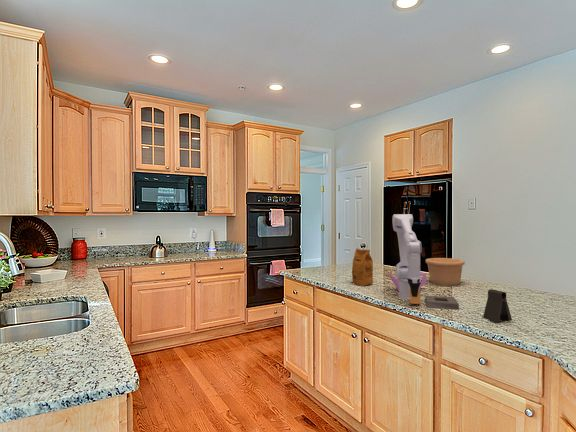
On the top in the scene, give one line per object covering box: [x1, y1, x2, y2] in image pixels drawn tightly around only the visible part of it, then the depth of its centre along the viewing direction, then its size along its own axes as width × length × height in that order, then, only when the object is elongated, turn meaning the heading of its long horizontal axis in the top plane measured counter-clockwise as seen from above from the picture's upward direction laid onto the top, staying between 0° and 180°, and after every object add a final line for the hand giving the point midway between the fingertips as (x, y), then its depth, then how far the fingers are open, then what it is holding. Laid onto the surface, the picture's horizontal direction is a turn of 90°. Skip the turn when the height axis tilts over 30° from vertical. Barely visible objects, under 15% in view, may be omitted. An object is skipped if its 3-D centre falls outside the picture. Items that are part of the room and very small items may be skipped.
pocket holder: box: [424, 295, 460, 311], centre depth 162 cm, size 13×13×3 cm
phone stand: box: [482, 288, 513, 324], centre depth 141 cm, size 9×6×12 cm, turn 110°
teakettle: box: [387, 272, 428, 292], centre depth 197 cm, size 17×17×12 cm
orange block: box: [409, 289, 421, 305], centre depth 164 cm, size 4×4×6 cm
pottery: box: [425, 257, 465, 287], centre depth 212 cm, size 22×22×14 cm
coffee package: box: [351, 248, 374, 287], centre depth 214 cm, size 10×12×22 cm
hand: (414, 295), depth 164 cm, fingers closed on orange block, 4 cm apart
